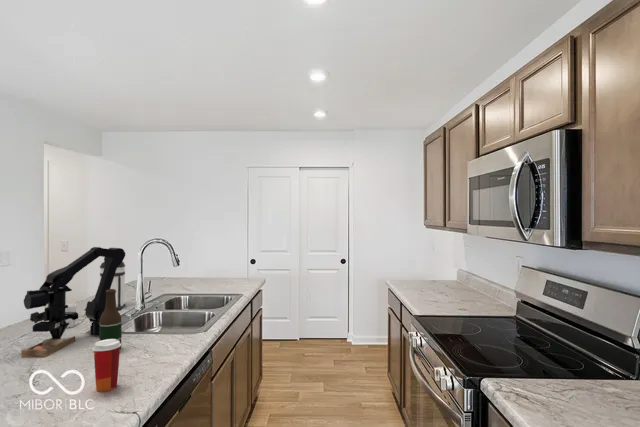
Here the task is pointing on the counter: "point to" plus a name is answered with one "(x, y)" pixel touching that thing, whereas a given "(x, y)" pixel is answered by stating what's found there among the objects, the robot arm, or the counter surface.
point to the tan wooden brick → (51, 343)
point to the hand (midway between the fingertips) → (56, 342)
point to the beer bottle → (110, 319)
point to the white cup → (70, 309)
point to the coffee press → (117, 284)
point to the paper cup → (106, 364)
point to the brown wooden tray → (45, 352)
